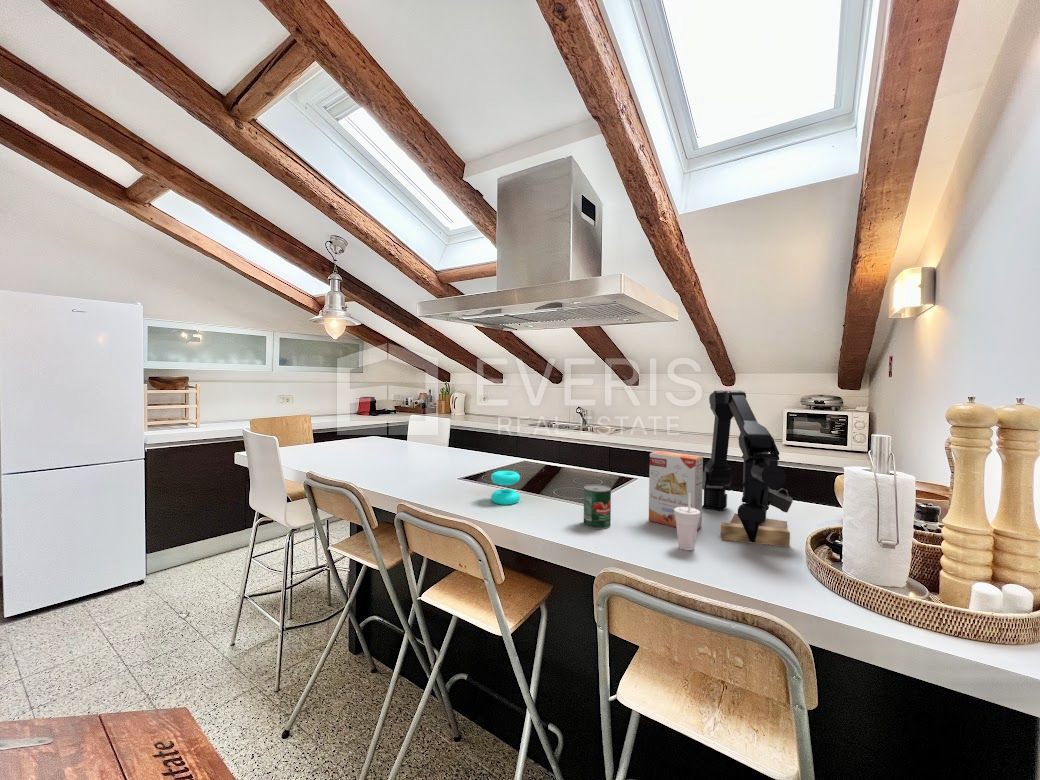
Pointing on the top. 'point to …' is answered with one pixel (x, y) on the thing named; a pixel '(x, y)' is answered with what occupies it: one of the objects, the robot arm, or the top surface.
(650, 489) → the cracker box
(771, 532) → the oak bar
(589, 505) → the canned tomato
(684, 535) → the smoothie
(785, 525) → the stand
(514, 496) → the donuts
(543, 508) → the top surface
